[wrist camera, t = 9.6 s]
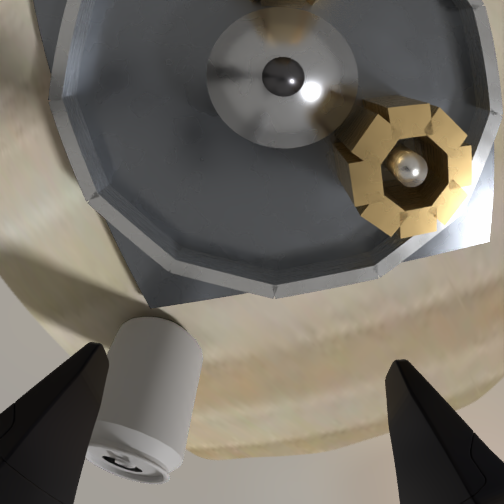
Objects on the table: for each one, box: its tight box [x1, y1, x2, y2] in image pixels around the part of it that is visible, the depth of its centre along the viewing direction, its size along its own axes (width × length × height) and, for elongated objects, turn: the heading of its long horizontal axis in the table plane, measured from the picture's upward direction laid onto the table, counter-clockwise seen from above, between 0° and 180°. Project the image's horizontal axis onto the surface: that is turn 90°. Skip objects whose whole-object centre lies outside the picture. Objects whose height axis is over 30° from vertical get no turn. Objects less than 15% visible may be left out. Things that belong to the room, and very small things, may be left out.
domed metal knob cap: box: [206, 7, 358, 149], centre depth 13 cm, size 7×7×3 cm
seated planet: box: [332, 95, 472, 239], centre depth 14 cm, size 6×6×4 cm
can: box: [85, 317, 203, 484], centre depth 21 cm, size 8×8×12 cm
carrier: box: [33, 0, 503, 308], centre depth 13 cm, size 25×25×4 cm
